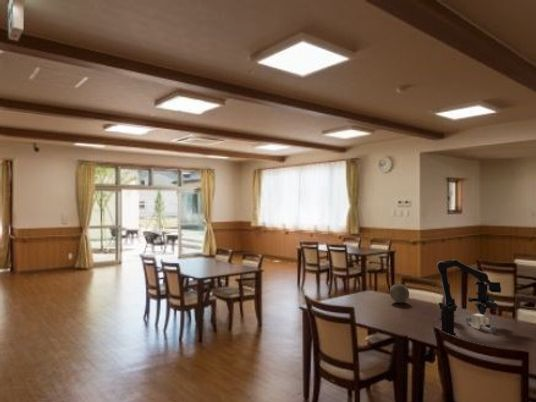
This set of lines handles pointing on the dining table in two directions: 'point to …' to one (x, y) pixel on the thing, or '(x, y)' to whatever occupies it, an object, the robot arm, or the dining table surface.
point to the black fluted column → (448, 318)
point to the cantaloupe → (399, 293)
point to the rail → (491, 329)
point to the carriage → (478, 320)
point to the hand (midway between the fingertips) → (482, 315)
